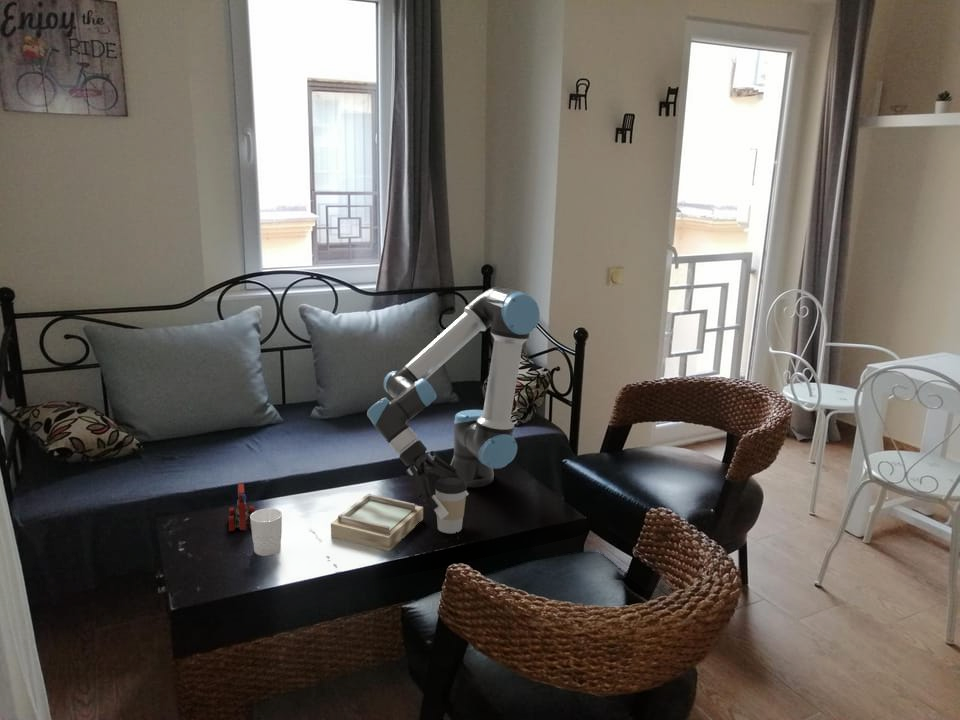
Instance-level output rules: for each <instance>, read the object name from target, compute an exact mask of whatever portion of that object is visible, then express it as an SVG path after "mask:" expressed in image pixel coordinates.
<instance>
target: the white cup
mask: <svg viewBox="0 0 960 720" xmlns="http://www.w3.org/2000/svg"><path fill="white" fill-rule="evenodd" d="M282 518H283V515H282V511H281V510H279V509H277V508H272V507H271V508H269V507H268V508H261V509H257V510H255V512H253V513H252V514H251V515H250V520H251V530H250V531H251V538H252V543H253V551H254V553H255V554H256V555H257V556H261V557H266V556H267V557H269V556H273V555H275V554H278V553H279V552H280V551H281V549H282V547H281V546H282V528H283V527H282V524H283V523H282V522H283V519H282Z"/></svg>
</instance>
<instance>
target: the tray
mask: <svg viewBox="0 0 960 720" xmlns="http://www.w3.org/2000/svg"><path fill="white" fill-rule="evenodd" d="M423 520H424V507H423V506H420V505H417V504H416V503H413V502H408V501H403V500H399V499H394V498H390V497H385V496H383V495H382V496H380V495H376V494H373V493H367V494H365V495H364V496H363V497H362V498H360V499H359V500H358V501H357V502H355V503H354V504H352V505H351V506H350V507H348V508H347V509H345V510H343V512H342V513H340V514H339V515H338V516H337V518H336V519H335V520H333V521H332V522H331V523H330V537H331V538H334V537H335V539H339V540H342V539H343V541H347V542H350V543H353V544H354V543H355V544H359V545H363V546H366V547H371V548H375V549H378V550H382V551H386V552H390V551H391V550H392V549H393V548H395V546H396V545H397V544H398V543H400V542H401V541H402V540H403V539H404V538H405V537H406V536H408V535H409V533H411V531H413V530H414V528H416V527H417V526H418V525H419V524H420V523H421V522H422V521H423ZM419 522H420V523H419ZM418 523H419V524H418ZM417 524H418V525H417ZM416 525H417V526H416ZM415 526H416V527H415ZM402 538H403V539H402ZM401 539H402V540H401Z"/></svg>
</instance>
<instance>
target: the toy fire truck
mask: <svg viewBox="0 0 960 720" xmlns="http://www.w3.org/2000/svg"><path fill="white" fill-rule="evenodd" d="M237 496H238V497H237V498H238V499H237V502H236V504H237V507H236V508H235V507H230V508H228V531H229V532H235V531H236V529H237V528H239V530H240V531H243V530H246V529H247V526H246V525H248V528H249V529H251V520H250V515H251V514H252V513H253V512H255V511H256V510H255V505H249V506H247V505H246V504H247V502H246V500H247V496H246V494H245V484H244V483H238V484H237Z"/></svg>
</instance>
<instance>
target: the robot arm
mask: <svg viewBox="0 0 960 720" xmlns="http://www.w3.org/2000/svg"><path fill="white" fill-rule="evenodd" d="M540 316H541V315H540V307H539V305H538V303H537V301H536V300H535V299H534V298H533V297H532V296H531V295H528V294H527V293H525V292H524V291H519V290H515V289H512V288H509V287H507V286H506V287H505V286H502V285H501V286H494V287H491V288H488V289H487V290H485V291H483V292H482V293H480V294H479V295H478V296H476V297H475V298H474V299H473V300H472V301H470V302H469V304H467V305H465V307H464V310H463V313H462V314H461V315H460V316H459V317H457V319H455V320H454V321H453V322H452V323H451V324H450V325H448V327H446V329H444V330H443V331H442V332H441V333H440V334H438V335H437V337H436V338H434V339H433V340H432V341H431V342H430V343H428V345H427V346H426V347H424V348H423V349H422V350H421V351H419V352H418V353H417V354H416V355H415V356H414V357H413V358H412V359H410V361H409V362H407V364H405V365H404V366H403V367H402V368H401V369H400V370H394V371H393V370H392V371H390V372H389V373H387V374H386V375H385V377H384V378H383V388H384V390H385V392H387V395H388V396H390V397H391V398H392V399H391V400H389V399H388V398H387V397H383V398H381V399H379V400H378V401H377V402H375V403H374V404H373V405H371V406H370V407H369V409H368V410H367V413H366V415H367V418H369V420H370V421H371V423H372V425H373V426H374V427H375V428H376V430H377V431H378V432H379V433H380V434H381V436H382V437H383V438H384V440H385V441H386V442H387V443H388V444H389V445H390V447H391V448H392V449H393V451H394V452H395V453H396V454H397V455H399V459H400V460H401V461H402V462H403V464H404V465H405V466H410V467H409V468H408V469H406V470H405V473H406V475H407V476H408V478H409V480H410V483H411V486H412V487H413V489H414V490H413V491H414V492H415V495H416V499H418V501H419V502H420V503H425V502H426V503H427V504H428V505H429V507H430V508H431V509H432V510H433V511H434V513H435V514H436V513H437V515H438V516H439V517H440V519H443V518H444V517H445V516H447V515H448V514H449V513H448V512H447V510H446V509H445V508H444V507H443V505H442V504H441V503H440V501H439V500H438V499H437V498H436V496H435V494H433V495H432V490H431V487H430V486H431V485H430V482H429V481H430V480H429V477H428V476H429V474H430V473H431V474H432V473H433V474H434V475H437V476H439V477H440V478H441V477H443V476H447V475H449V474H455V475H458V476H459V477H460V478H462V479H463V481H465V482H466V484H467V488H481V487H485V486H489V485H490V484H492V482H494V479H495V478H494V475H495V474H494V473H495V472H494V470H497V469H502V468H505V467H507V465H508V464H510V463H511V462H512V461H513V460H514V459H515V457H516V455H517V452H518V444H517V441H516V439H515V438H514V437H513V435H514V429H515V424H514V423H513V421H512V420H511V418H512V417H511V416H512V410H513V404H514V399H515V394H516V393H515V391H516V387H517V381H518V374H519V367H520V363H521V357H522V356H521V355H522V349H523V344H524V343H525V342H527V341H528V340H529V339H530V333H531V332H533V331H534V329H536V327H537V326H538V324H539V321H540ZM490 327H491V328H490ZM489 328H490V334H491V336H492V337H493V339H494V340H493V345H492V352H491V353H492V354H491V360H490V365H489V373H488V378H487V384H486V392H485V398H484V404H483V409H465V410H461V411H459V412H457V413H456V414H455V415H454V422H453V429H454V432H453V433H454V434H453V457H452V459H451V462H450V464H449V463H448V462H446V461H445V460H443V458H441V457H440V456H438V455H437V454H436V453H435V451H434V450H431V451H429V453H428V454H427V453H426V452H427V447H426V446H425V444H424V443H423V441H421V440H418V438H419V437H418V435H417V434H416V433H415V432H414V431H413V429H412V428H411V427H410V426H409V424H408V423H407V422H409V421H410V420H411V419H412V418H414V417H415V416H417V415H418V414H419V413H421V412H422V411H423V410H424V409H425V408H427V407H429V406H430V405H431V404H432V403H433V402H434V401H435V400H436V399H437V392H436V391H435V389H434V387H433V386H432V385H431V384H430V383H429V382H428V379H429V378H430V377H431V376H432V375H433V374H434V373H435V372H436V371H437V370H439V369H440V368H441V367H442V366H443V365H444V364H445V363H446V362H448V360H450V359H451V358H452V357H453V356H454V355H455V354H456V353H458V351H460V350H461V349H463V347H464V346H465V345H466V344H467V343H469V342H470V341H471V340H472V339H473V338H474V337H475V336H476V335H478V334H479V333H480V332H486V331H487V329H489ZM468 495H469V492H468V491H467V490H466V497H467V496H468ZM437 515H436V516H437Z"/></svg>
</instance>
